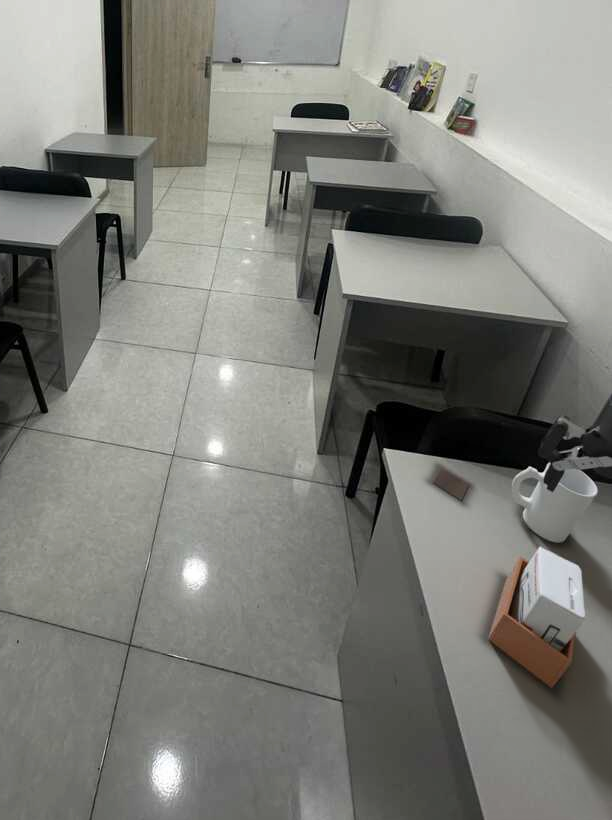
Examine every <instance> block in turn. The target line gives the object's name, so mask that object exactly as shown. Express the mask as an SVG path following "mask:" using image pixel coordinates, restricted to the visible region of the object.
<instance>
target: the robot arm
mask: <svg viewBox="0 0 612 820" xmlns="http://www.w3.org/2000/svg"><path fill="white" fill-rule="evenodd" d="M573 438H579V441H580V444H581V445H577V446H574V447H573V448H571V449H567V450H566V449H565V450H562V451H561V450H560V451H558V450H557V447H558V445H559V444H560V442H561V441H562V440H563V439H564V440H565V441H567V440H572V439H573ZM537 455H538V456H539V457H540V458H542V459H546V460H547V461H548V463H550V466H549V468H548V470H547V471H546V473H545V476H544V479H543V480H544V483H545V484H546V485H547V488H546V489H547V490H549V491H551V492H554V490H555V488H556V487H557V485H558V483H559V481H560V480H561V478H562V476H563V475H564V472H565V470H569V469H577V470H580V471H582V470H588V469H593V470H594V471H595V474H598V475H600V476H602V477H604V478H607V479H610V480H612V393H611V394H610V395H609V397H608V399H607V400H606V402H605V404H604V406H603V407H602V409H601V410H600V413H599V414H598V416H597V417H596V419H595V420H594V422H593V424H592V425H591V426H590V427H588V428H582V427H580V426H579V425H577V424H575V423H573V422H571V419H570V417H568V415H567V414H566V415H565V414H560V415H558V417H557V418H556V419H555V420H554V422H553V424H552V425H551V427H550V428H549V430H548V431H547V432H546V434H545V436H544V437H543V439H542V440H541V442H540V446H539V448H538V450H537Z"/></svg>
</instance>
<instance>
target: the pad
mask: <svg viewBox="0 0 612 820" xmlns="http://www.w3.org/2000/svg"><path fill="white" fill-rule="evenodd" d="M432 484H434V485H435V486H436V487H438V488H440V489H442V490H443V491H444V492H446V493H448V494H449V495H451V496H453V497H455V498H456V500H459V501H460V502H462V501H463V498H464V497H465V494H466V492H467V490H468V487H470V484H469V483H468V482H466V481H465V480H463V479H461V478H459V477H458V476H456V475H455V474H453V473H451V472H450V471H448V470H446V469H445V468H443V467H440V468H439V470H438V471H437V474H436V475H435V477H434V479H433V481H432Z"/></svg>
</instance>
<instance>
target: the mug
mask: <svg viewBox="0 0 612 820" xmlns="http://www.w3.org/2000/svg"><path fill="white" fill-rule="evenodd" d="M549 466H550V462H548V463H547V464H546V466H545V469H544V471H543V472H539V471H538V469H537V468H534V467H532V466H528V467H527V468H526V469H524V470H522V471H520V472H519V473H517V474H516V475H515V476H514V478H513V480H512V483H511V490H512V497H513V501H514V503H515V504H518V505H520V506H522V507H524V510H523V512H522V517H523V520H524V522H525V524H526V525H527V526H528V527H529V528H530V529H531V530H532V531H533V532H534V533H535V534H537V535H538V536H540V537H541V538H542V539H544V540H547V541H549V542H552V543H563V542H564V541H565V540H566V539H567V538H568V537H569V535H570V534H571V532H572V531H573V530H574V528H575V527H576V525H577V523H578V522H579V520H580V519H581V517H582V516H583V515H584V514H585V512H586V511H587V509H588V508H589V506H591V503H592V502H593V500H594V499H595V497H596V496H597V494H598V492H599V491H598V487H597V484H595V482H594V481H593V480H592V478H590V476H588V475H587V474H586V473H585V472H584V471H582V470H577V469H569V470H565V472H564V475H563V476H562V478H561V480H560V481H559V483H558V485H557V487H556V488H555V490H554V492H551V491H549V490H547V489H546V488H547V485H546V484H545V483H544V480H543V479H544V476H545V473H546V471H547V470H548V468H549ZM526 479H535V480H537V481H538V482H537V484H536V486H535V487H534V490H533V492H532V493H531V496H530V497H527V496H524V495H522V493H521V492H520V486H521V484H522V482H524V480H526Z"/></svg>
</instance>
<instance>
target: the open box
mask: <svg viewBox="0 0 612 820" xmlns="http://www.w3.org/2000/svg"><path fill="white" fill-rule="evenodd" d="M529 562H530V560H527V559H525V558H524V557H523V556H521V555H520V556H519V557H518V559H517V561H516V562H515V565H514V566H513V568H512V570H511V571H510V573H509V574H508V576H507V577H506V580H505V582H504V585H503V589H502V592H501V595H500V598H499V602H498V605H497V608H496V611H495V615H494V618H493V621H492V622H493V623H492V625H491V628H490V631H489V635H488V637H487V638H488V639H487V640H488V641H489V642H491V643H492V644H494V645H495V646H496V647H498V648H499V649H500V650H501V651H503V652H504V653H505V654H507V655H508V656H509V657H511V658H512V659H513V660H514V661H516V662H517V663H518V664H520V665H521V666H522V667H524V668H525V669H526V670H527V671H529V672H530V673H532V675H535V677H537V678H538V679H539V680H540V681H542V682H543V683H545V684H546V685H547V686H548V687H550V688H551V689H552V688H553V687H554V686H555V685H556V684H557V682H558V681H559V680H560V679H561V678H562V676H563V674H564V673H565V672H566V670H567V669H568V668H569V667H570V666H571V664H572V661H573V653H574V647H575V643H576V642H575V641H576V634H577V631H576V632H575V634H574V635H573V636H572V638H571V639H570V640H569V641H568V643H567V644H566V645H565V646H564V648H563V649H562V650H561V652H559V651H558V650H556V649H555V648H554V647H552V646H551V645H549V644H548V643H547V642H545V641H544V640H543V639H541V638H540V637H538V636H537V635H536V634H534V633H533V632H531V631H530V630H529V629H527V628H526V627H525V626H523V625H522V624H520V623H519V622H518V621H516V620H515V619H513V618H512V617H511V616H509V615H508V611H509V607H510V604H511V600H512V597H513V593H514V590H515V586H516V583H517V580H518V578H519V577H520V575H521V574H522V572H523V571H524V569H525V568H526V566H527V565H528V563H529Z"/></svg>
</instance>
